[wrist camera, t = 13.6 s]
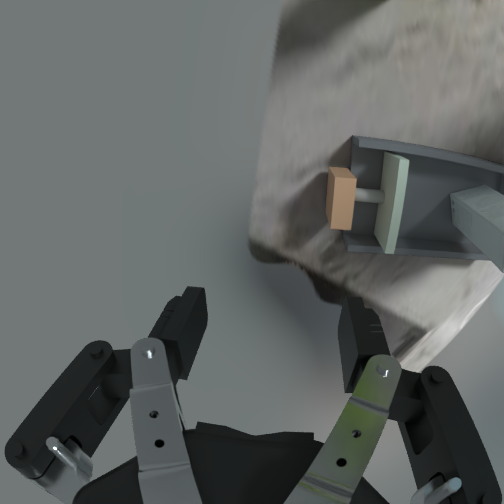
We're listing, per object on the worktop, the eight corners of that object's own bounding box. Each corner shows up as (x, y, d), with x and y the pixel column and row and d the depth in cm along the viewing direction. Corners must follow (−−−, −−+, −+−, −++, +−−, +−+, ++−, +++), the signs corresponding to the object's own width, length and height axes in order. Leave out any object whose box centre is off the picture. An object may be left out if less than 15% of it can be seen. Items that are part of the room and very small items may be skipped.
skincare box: (451, 225, 31) (501, 275, 20) (448, 192, 29) (504, 234, 18) (487, 214, 29) (540, 258, 18) (485, 183, 27) (545, 219, 17)
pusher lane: (504, 165, 26) (520, 172, 23) (486, 248, 32) (498, 261, 28) (352, 135, 29) (359, 138, 26) (342, 237, 34) (347, 251, 31)
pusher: (392, 152, 28) (409, 160, 23) (381, 234, 32) (394, 254, 28) (329, 145, 29) (336, 151, 24) (323, 230, 33) (328, 250, 29)
